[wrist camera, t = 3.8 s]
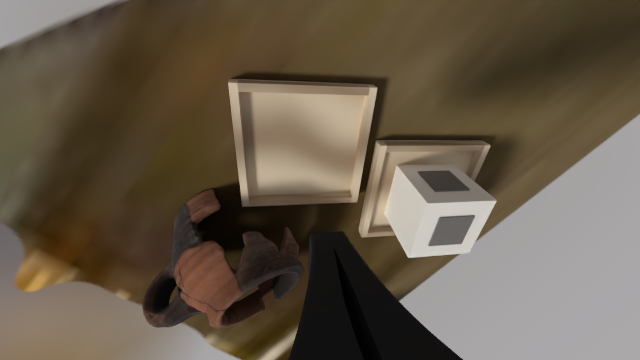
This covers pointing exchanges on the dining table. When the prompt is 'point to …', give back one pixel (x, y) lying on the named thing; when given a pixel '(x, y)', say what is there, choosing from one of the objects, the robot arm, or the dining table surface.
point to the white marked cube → (436, 209)
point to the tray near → (300, 140)
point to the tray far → (411, 153)
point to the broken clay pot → (218, 273)
